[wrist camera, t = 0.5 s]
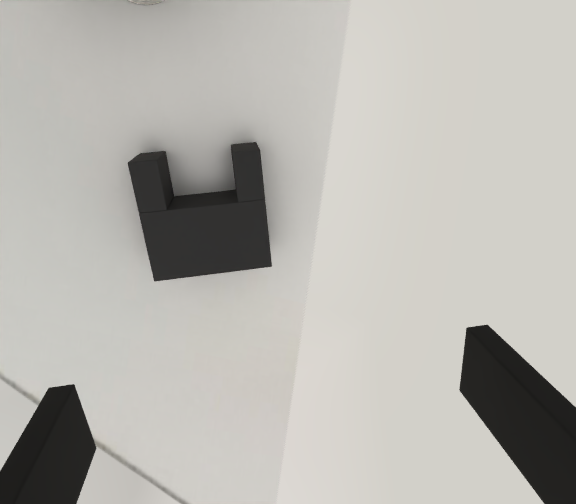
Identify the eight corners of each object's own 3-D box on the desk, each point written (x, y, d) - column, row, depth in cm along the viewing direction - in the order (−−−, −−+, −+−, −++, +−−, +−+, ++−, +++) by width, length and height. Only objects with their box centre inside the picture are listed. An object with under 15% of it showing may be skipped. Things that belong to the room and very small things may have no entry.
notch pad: (139, 153, 35) (127, 162, 31) (256, 142, 36) (259, 149, 32) (162, 260, 39) (154, 281, 35) (267, 247, 40) (271, 266, 36)
